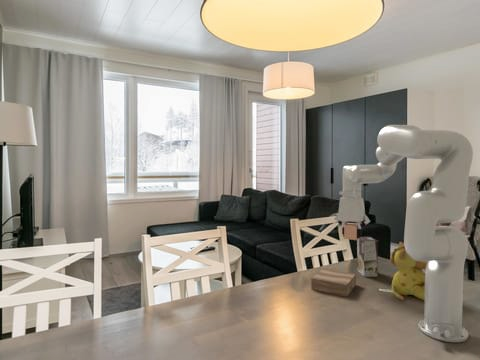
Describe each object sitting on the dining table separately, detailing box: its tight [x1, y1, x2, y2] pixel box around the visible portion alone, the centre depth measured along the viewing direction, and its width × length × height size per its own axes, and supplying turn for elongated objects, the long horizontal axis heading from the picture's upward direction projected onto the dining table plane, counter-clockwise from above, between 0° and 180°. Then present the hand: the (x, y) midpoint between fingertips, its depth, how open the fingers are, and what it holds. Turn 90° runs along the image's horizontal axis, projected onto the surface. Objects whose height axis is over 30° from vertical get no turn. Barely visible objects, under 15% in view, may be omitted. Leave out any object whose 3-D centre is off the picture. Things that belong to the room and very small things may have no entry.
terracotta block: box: [343, 222, 358, 241], centre depth 138 cm, size 5×5×6 cm
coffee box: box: [356, 236, 379, 278], centre depth 148 cm, size 9×6×16 cm
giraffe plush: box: [378, 241, 428, 301], centre depth 126 cm, size 20×24×19 cm
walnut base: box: [310, 268, 357, 297], centre depth 132 cm, size 14×14×4 cm
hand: (351, 236), depth 138 cm, fingers closed on terracotta block, 4 cm apart
